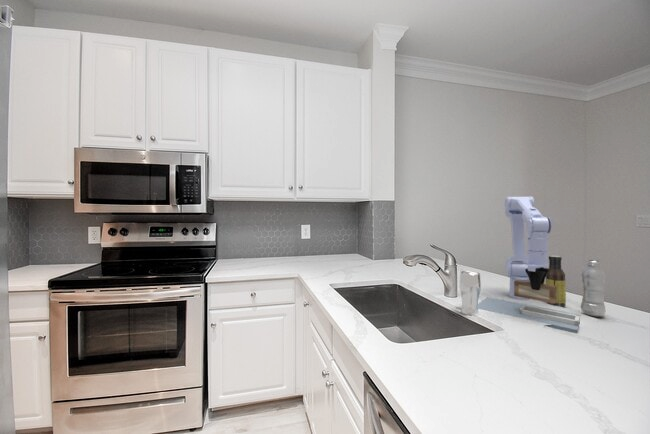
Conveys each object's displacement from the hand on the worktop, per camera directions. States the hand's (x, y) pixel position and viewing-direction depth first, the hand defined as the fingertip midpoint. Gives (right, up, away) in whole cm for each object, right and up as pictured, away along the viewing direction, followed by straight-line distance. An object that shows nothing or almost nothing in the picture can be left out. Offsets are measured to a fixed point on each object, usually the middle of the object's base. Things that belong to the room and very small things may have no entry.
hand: (537, 288), depth 104 cm
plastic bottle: (+21, -10, +1) cm, 23 cm away
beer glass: (-22, -10, +4) cm, 25 cm away
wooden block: (0, -4, +1) cm, 4 cm away
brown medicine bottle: (+16, -10, +12) cm, 22 cm away
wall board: (-2, -10, +3) cm, 11 cm away
